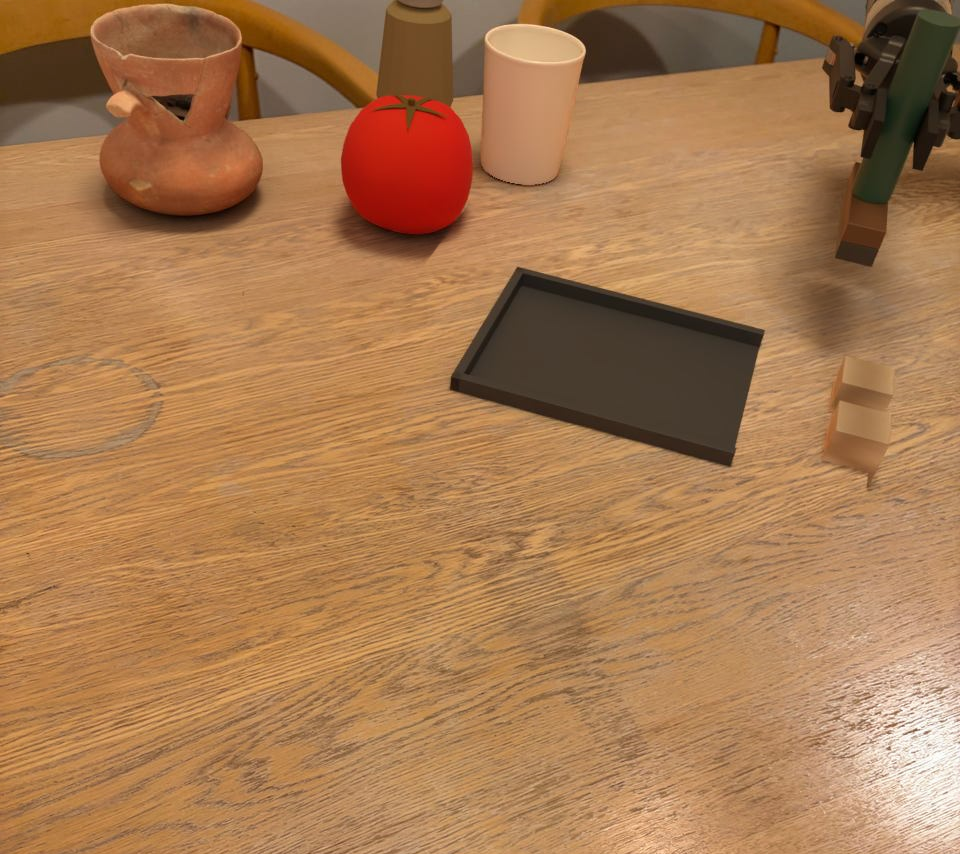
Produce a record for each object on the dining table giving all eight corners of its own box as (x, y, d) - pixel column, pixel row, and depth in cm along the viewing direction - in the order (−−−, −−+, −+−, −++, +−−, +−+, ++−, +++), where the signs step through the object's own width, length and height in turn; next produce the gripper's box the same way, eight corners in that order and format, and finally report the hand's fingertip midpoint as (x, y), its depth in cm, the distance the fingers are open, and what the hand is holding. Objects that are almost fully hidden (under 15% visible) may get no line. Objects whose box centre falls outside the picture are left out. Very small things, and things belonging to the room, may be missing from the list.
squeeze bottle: (363, 138, 108) (366, -61, 95) (392, 110, 113) (398, -82, 100) (435, 156, 107) (447, -43, 93) (460, 127, 112) (476, -65, 99)
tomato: (469, 196, 102) (480, 78, 94) (465, 263, 93) (477, 140, 85) (350, 183, 101) (350, 63, 93) (334, 250, 93) (333, 124, 84)
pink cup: (457, 152, 108) (467, 27, 99) (537, 142, 112) (554, 20, 103) (500, 195, 103) (515, 67, 94) (583, 183, 106) (605, 58, 97)
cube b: (871, 455, 80) (892, 413, 77) (869, 486, 78) (890, 444, 75) (821, 442, 81) (839, 399, 78) (816, 472, 78) (835, 429, 75)
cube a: (875, 409, 84) (895, 367, 81) (873, 436, 82) (893, 394, 79) (827, 396, 85) (845, 355, 82) (823, 423, 82) (841, 381, 79)
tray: (448, 402, 79) (450, 375, 77) (513, 291, 91) (517, 266, 89) (725, 478, 76) (735, 453, 75) (756, 354, 88) (765, 329, 86)
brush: (877, 203, 89) (961, -3, 77) (872, 268, 81) (964, 50, 69) (841, 195, 90) (918, -12, 78) (832, 258, 82) (917, 40, 70)
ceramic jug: (206, 254, 90) (187, 83, 79) (65, 211, 92) (28, 39, 82) (303, 175, 101) (298, 15, 91) (175, 138, 104) (155, -21, 93)
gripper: (979, 106, 92) (986, 220, 77) (800, 67, 94) (773, 171, 79) (1020, 14, 87) (1037, 117, 71) (829, -26, 89) (806, 66, 73)
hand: (898, 145), depth 75 cm, fingers closed on brush, 3 cm apart
